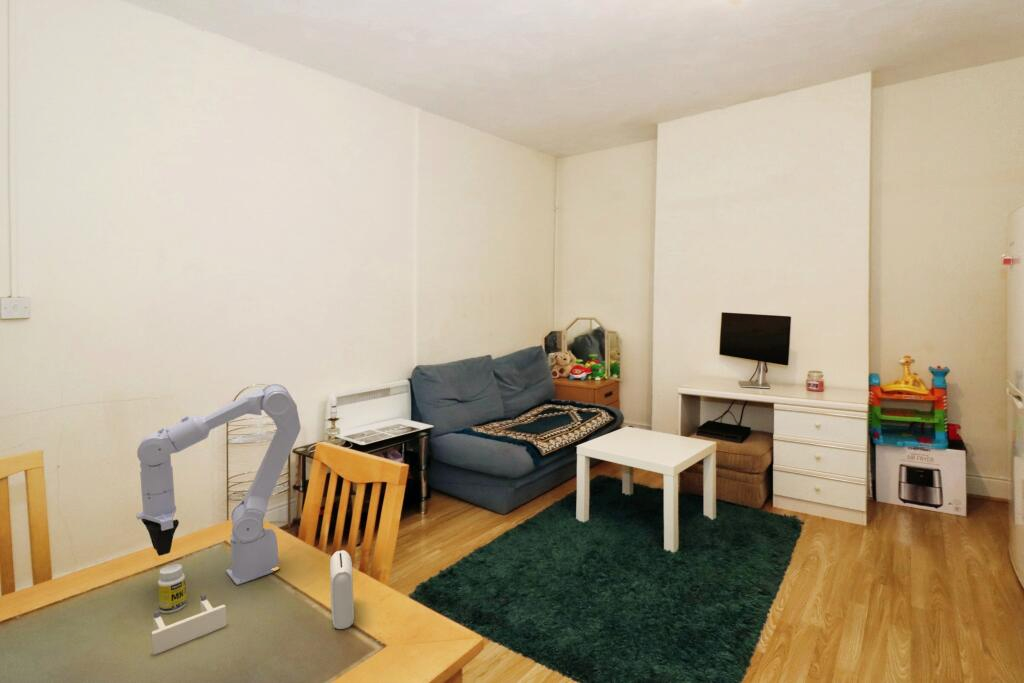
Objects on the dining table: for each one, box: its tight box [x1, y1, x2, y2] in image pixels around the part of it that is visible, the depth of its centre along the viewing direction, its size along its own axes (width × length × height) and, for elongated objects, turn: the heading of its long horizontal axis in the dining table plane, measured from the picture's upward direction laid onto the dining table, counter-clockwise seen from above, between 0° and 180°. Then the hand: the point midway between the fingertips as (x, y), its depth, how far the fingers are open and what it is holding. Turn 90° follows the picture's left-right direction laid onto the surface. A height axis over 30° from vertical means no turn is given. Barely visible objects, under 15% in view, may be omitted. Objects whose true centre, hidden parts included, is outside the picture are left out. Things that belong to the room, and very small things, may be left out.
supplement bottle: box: [157, 563, 187, 614], centre depth 110 cm, size 5×5×8 cm
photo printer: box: [329, 549, 355, 630], centre depth 107 cm, size 10×4×12 cm, turn 20°
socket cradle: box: [151, 593, 227, 656], centre depth 102 cm, size 12×8×4 cm, turn 134°
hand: (162, 550), depth 114 cm, fingers open, 3 cm apart
